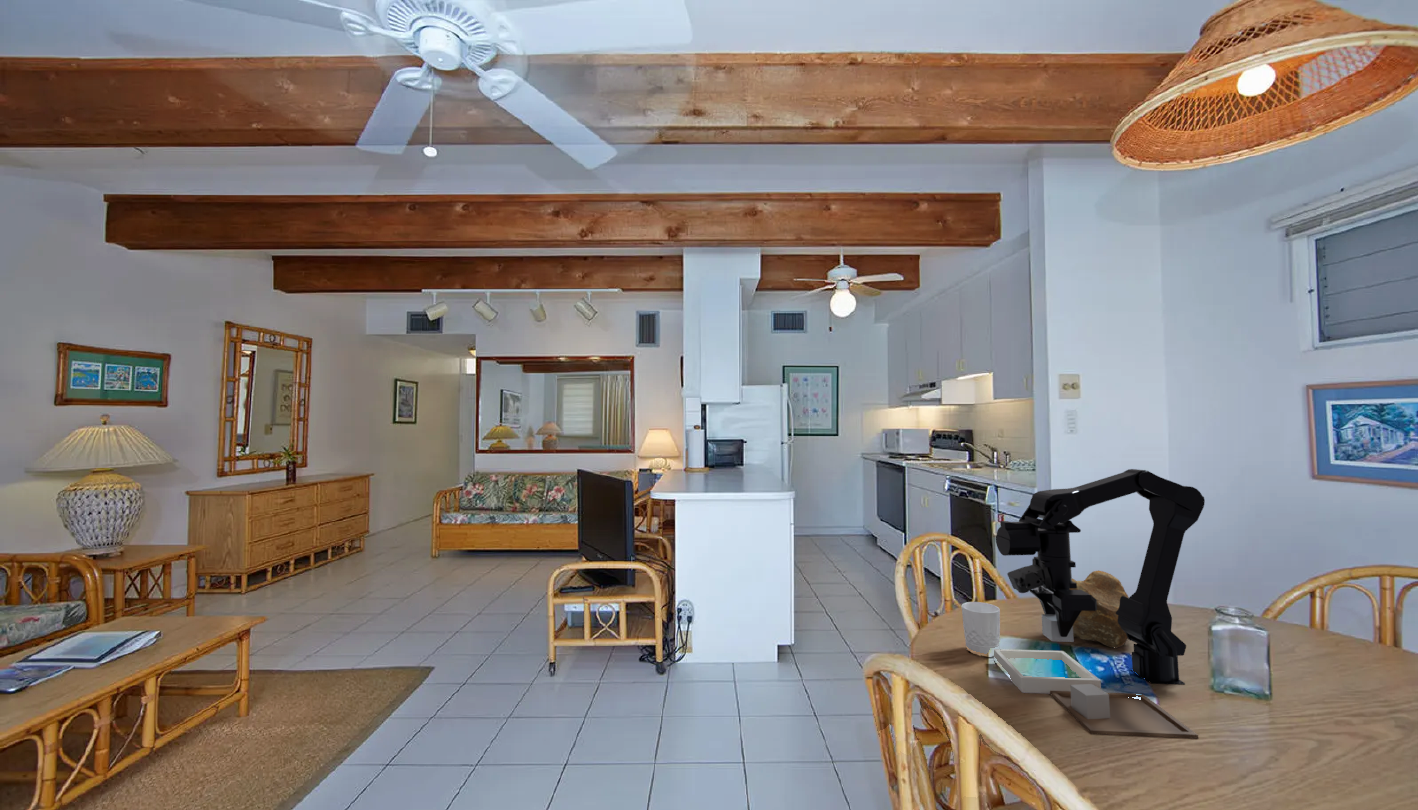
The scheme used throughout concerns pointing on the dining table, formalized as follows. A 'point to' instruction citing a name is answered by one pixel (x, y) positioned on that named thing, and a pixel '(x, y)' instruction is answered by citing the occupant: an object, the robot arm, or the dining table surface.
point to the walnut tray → (1129, 717)
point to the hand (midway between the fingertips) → (1058, 632)
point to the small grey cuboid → (1090, 701)
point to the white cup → (981, 626)
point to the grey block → (1054, 629)
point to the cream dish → (1044, 683)
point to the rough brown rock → (1101, 610)
